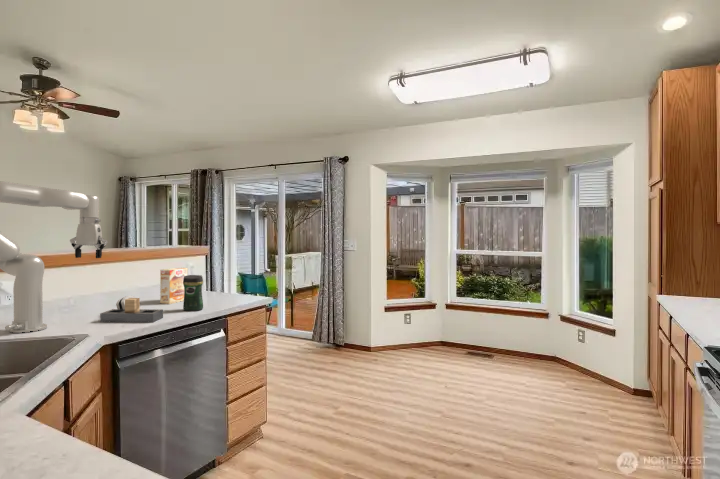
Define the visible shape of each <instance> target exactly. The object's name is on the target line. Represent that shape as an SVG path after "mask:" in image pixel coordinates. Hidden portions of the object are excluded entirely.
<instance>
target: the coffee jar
mask: <svg viewBox="0 0 720 479" xmlns="http://www.w3.org/2000/svg"><path fill="white" fill-rule="evenodd" d="M203 284H204V280H203V276H202V275H201V274H200V275H199V274H187V276H184V279H183V285H184V301H183V305H182V307H183V311H186V312H196V311H202V310H203V309H204V299H203V292H202V291H203V290H202V289H203Z"/></svg>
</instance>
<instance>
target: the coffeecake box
mask: <svg viewBox="0 0 720 479" xmlns="http://www.w3.org/2000/svg"><path fill="white" fill-rule="evenodd" d="M159 270H160V278H159V279H160V280H159V281H160V285H159V286H160V287H159V288H160V289H159V291H160V292H159V293H160V294H159V296H160V297H159V301H160V304H166V305H172V304H176V302H177V303H180V301H181V302H184V285H183V279H184V276H187V275H189V274H188V270H189V268H188V267H174V268H165V269H164V268H163V269H159Z"/></svg>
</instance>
